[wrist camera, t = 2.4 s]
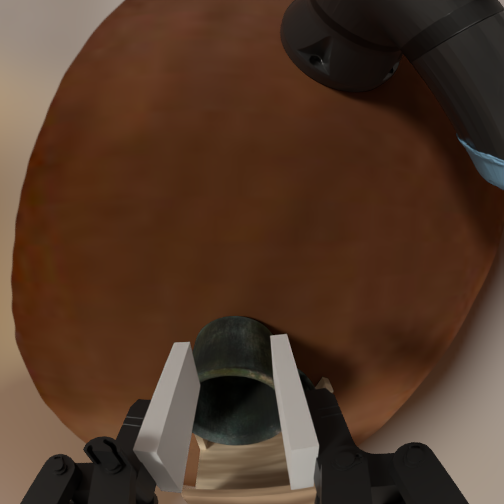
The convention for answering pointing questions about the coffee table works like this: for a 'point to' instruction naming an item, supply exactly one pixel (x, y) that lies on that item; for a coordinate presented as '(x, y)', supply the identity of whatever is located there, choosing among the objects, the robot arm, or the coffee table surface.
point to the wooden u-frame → (247, 473)
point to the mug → (236, 383)
